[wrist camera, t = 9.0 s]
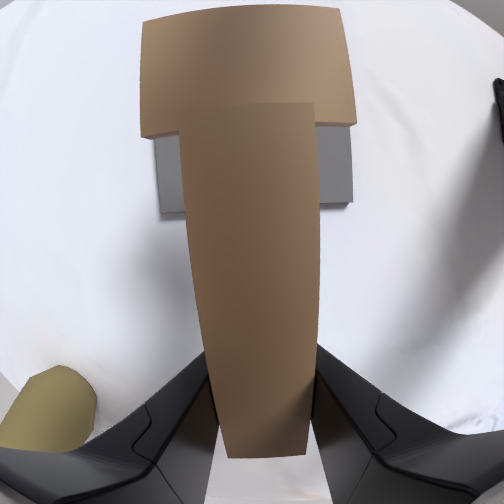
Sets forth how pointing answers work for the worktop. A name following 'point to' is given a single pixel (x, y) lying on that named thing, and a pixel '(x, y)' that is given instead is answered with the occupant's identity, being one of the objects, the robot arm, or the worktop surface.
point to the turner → (252, 197)
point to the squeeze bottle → (50, 413)
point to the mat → (329, 168)
